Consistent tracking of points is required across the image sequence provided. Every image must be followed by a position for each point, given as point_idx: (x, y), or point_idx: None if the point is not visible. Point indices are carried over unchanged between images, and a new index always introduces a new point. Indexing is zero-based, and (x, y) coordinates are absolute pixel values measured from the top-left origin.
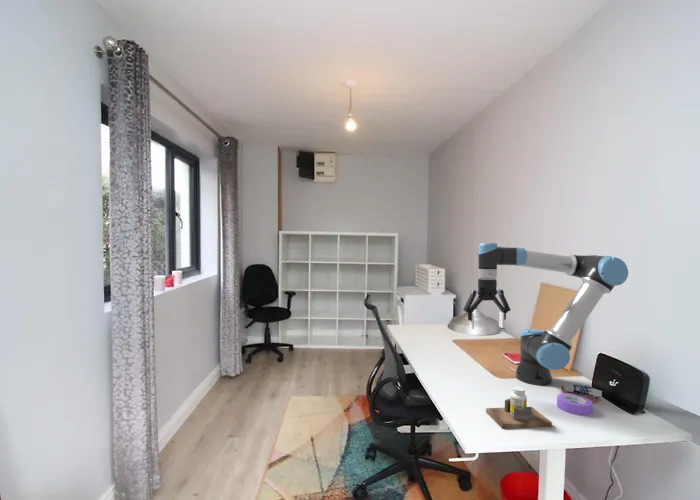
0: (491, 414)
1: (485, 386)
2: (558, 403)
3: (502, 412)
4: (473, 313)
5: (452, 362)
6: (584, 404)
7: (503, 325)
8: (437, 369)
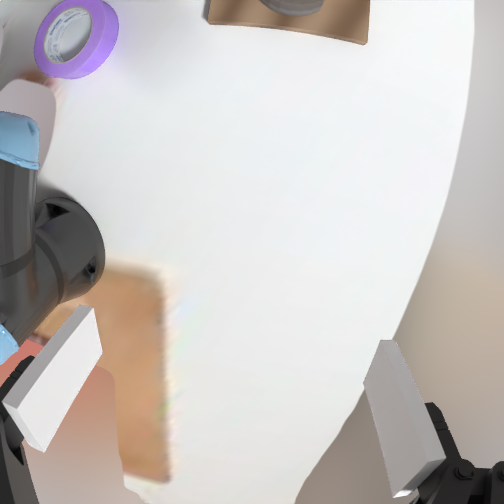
0: (369, 12)
1: (245, 221)
2: (110, 38)
3: (331, 6)
4: (425, 466)
5: (241, 402)
6: (70, 4)
7: (73, 319)
8: (319, 370)
